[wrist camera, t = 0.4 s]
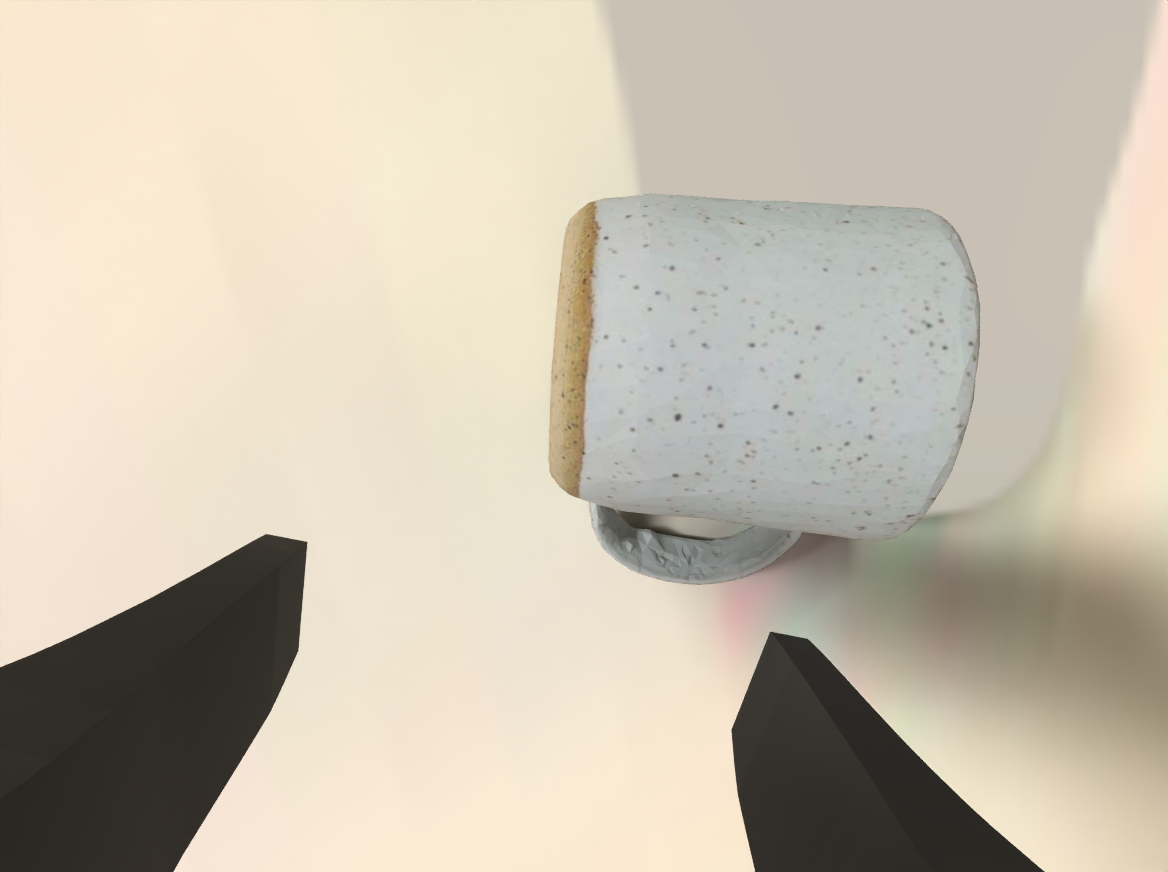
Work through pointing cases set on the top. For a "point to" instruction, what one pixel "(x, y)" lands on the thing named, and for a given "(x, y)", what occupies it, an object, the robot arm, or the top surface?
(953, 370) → the ceramic mug
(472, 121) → the top surface
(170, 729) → the robot arm
